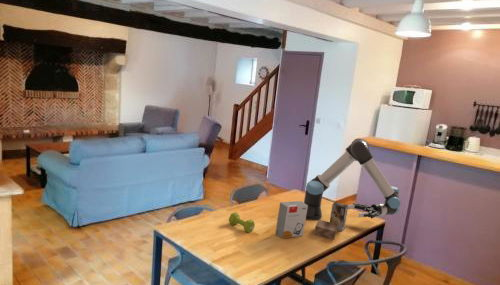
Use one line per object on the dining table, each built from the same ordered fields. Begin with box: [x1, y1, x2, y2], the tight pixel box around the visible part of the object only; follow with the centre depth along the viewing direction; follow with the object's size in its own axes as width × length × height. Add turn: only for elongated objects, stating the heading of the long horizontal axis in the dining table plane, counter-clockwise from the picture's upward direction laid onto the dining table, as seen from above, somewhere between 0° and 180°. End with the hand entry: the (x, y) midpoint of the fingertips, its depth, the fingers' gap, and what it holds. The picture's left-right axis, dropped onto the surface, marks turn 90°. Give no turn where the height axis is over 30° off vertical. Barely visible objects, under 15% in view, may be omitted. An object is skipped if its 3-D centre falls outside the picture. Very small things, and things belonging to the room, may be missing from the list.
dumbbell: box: [228, 212, 256, 233], centre depth 215 cm, size 16×8×7 cm, turn 48°
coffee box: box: [329, 201, 349, 232], centre depth 230 cm, size 9×6×16 cm
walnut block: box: [314, 219, 338, 241], centre depth 220 cm, size 12×12×6 cm
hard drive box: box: [275, 200, 308, 239], centre depth 212 cm, size 16×8×20 cm, turn 117°
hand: (352, 211), depth 233 cm, fingers open, 13 cm apart
